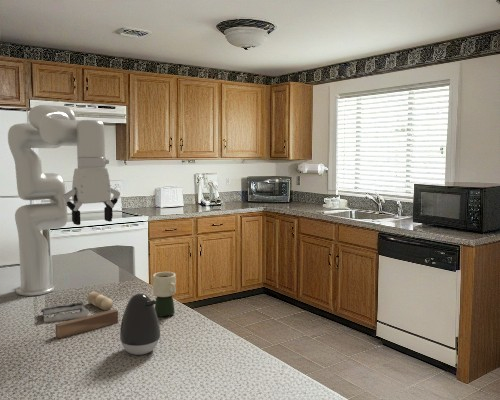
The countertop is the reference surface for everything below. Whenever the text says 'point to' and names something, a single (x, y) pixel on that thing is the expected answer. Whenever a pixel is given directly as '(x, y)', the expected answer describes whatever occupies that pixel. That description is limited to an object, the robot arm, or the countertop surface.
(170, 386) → the countertop surface
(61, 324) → the stop rail
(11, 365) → the countertop surface
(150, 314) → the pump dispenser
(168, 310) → the character mug
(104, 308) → the roller
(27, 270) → the robot arm
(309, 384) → the countertop surface
